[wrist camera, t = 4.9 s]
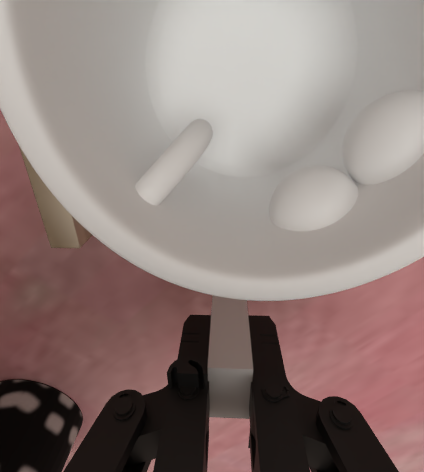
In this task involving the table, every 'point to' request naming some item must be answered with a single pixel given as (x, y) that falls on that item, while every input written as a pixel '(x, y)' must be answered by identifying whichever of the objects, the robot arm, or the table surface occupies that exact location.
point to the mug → (228, 134)
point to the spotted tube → (35, 427)
